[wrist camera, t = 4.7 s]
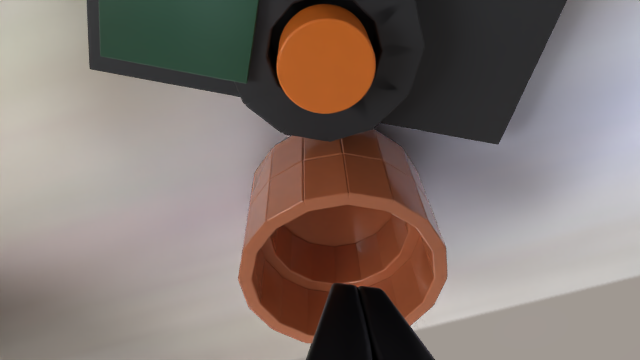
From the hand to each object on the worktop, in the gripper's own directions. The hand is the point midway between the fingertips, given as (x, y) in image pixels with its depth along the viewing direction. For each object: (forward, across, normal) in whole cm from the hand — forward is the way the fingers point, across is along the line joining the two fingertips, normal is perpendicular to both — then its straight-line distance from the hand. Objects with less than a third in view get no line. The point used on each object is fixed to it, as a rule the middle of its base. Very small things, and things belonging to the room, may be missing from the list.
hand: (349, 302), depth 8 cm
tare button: (+8, 0, -2) cm, 8 cm away
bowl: (+11, -2, +5) cm, 12 cm away
